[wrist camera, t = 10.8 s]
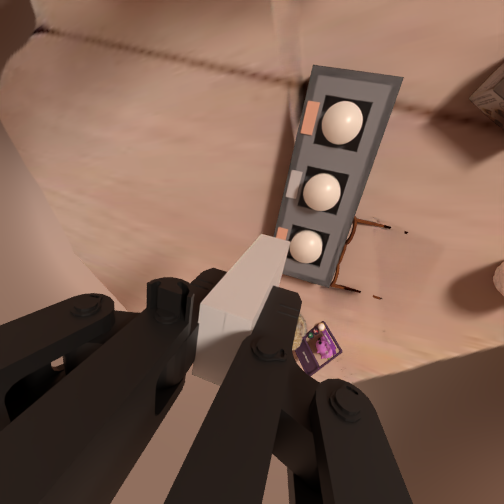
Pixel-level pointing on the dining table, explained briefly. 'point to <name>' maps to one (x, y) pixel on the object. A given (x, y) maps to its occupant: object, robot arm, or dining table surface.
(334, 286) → the glasses
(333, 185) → the button middle
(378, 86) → the console
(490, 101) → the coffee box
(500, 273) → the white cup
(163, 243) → the dining table surface
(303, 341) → the purple toy box
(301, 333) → the beige textured round piece
